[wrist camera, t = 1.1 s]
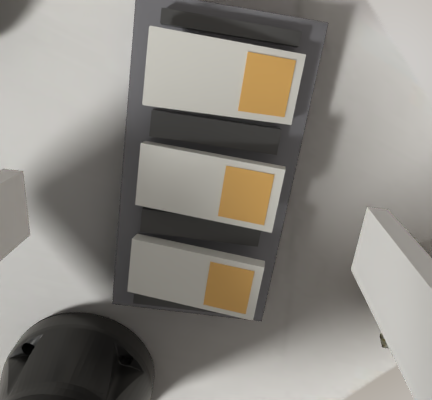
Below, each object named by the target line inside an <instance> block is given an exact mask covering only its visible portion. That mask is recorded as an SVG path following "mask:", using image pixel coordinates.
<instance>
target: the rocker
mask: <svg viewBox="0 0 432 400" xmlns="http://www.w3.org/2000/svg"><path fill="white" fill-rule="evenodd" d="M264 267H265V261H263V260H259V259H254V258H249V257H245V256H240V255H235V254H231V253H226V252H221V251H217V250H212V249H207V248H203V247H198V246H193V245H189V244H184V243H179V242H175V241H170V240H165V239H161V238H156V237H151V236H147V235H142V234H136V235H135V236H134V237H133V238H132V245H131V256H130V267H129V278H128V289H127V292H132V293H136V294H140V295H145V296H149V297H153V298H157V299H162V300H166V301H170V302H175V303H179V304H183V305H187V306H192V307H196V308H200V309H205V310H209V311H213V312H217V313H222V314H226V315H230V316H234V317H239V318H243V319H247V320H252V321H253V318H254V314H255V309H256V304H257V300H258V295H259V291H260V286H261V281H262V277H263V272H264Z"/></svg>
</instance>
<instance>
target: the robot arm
mask: <svg viewBox="0 0 432 400" xmlns="http://www.w3.org/2000/svg"><path fill="white" fill-rule="evenodd" d="M29 235H30V229H29V220H28V211H27V202H26V193H25V184H24V175H23V171H18V170H9V169H2V170H0V261H1V260H2V259H3V258H4V257H5V256H7V255H8V254H9V253H10V252H11V251H12V250H13V249H15V248H16V247H17V246H18V245H19V244H20V243H21V242H23V241H24V240H25V239H26V238H27V237H28V236H29ZM351 271H352V273H353V275H354V277H355V279H356V281H357V283H358V286H359V288H360V290H361V292H362V294H363V296H364V298H365V300H366V302H367V304H368V306H369V308H370V310H371V312H372V314H373V316H374V318H375V320H376V322H377V325H378V327H379V329H380V331H381V333H382V335H383V337H384V339H385V341H386V343H387V345H388V347H389V349H390V351H391V353H392V355H393V357H394V359H395V361H396V364H397V366H398V368H399V369H400V372H401V373H402V376H403V378H404V380H405V382H406V384H407V386H408V388H409V390H410V392H411V394H412V396H413V398H414V400H432V258H431V257H430V255H429V254H428V253H427V252H426V251H425V250H424V249H423V248H422V247H421V245H420V244H419V243H418V242H417V241H416V240H415V239H414V238H413V237H412V235H411V234H410V233H409V232H408V231H407V230H406V229H405V228H404V227H403V225H402V224H401V223H400V222H399V221H398V220H397V219H396V218H395V217H394V215H393V214H392V213H391V212H390V211H389V210H388V209H383V208H373V207H367V209H366V213H365V217H364V221H363V225H362V229H361V232H360V236H359V240H358V244H357V248H356V252H355V256H354V259H353V263H352V267H351ZM153 383H154V366H153V362H152V359H151V356H150V354H149V352H148V350H147V349H146V347H145V346H144V344H143V343H142V342H141V340H140V339H139V338H138V337H137V336H136V335H135V334H134V333H132V332H131V331H130V330H129V329H127V328H126V327H124V326H123V325H121V324H119V323H117V322H115V321H113V320H110V319H108V318H105V317H102V316H98V315H93V314H86V313H67V314H61V315H56V316H52V317H49V318H47V319H44V320H42V321H40V322H38V323H37V324H35V325H34V326H32V327H31V328H30V329H28V330H27V331H26V332H25V333H24V334H23V335H22V337H21V338H20V339H19V341H18V342H17V344H16V345H15V347H14V348H13V349H12V351H11V352H10V354H9V356H8V358H7V360H6V362H5V364H4V367H3V371H2V375H1V380H0V400H150V399H151V394H152V389H153Z"/></svg>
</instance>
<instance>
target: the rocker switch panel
mask: <svg viewBox="0 0 432 400" xmlns="http://www.w3.org/2000/svg"><path fill="white" fill-rule="evenodd" d="M149 26H155V27H160V28H166V29H171V30H177V31H182V32H187V33H193V34H198V35H203V36H209V37H214V38H220V39H225V40H230V41H236V42H241V43H246V44H252V45H257V46H263V47H268V48H273V49H279V50H284V51H290V52H295V53H300V54H306V58H305V63H304V67H303V72H302V77H301V81H300V86H299V91H298V96H297V100H296V105H295V110H294V114H293V119H292V124H291V125H287V124H280V123H272V122H265V121H257V120H250V119H242V118H235V117H227V116H220V115H212V114H205V113H197V112H190V111H182V110H175V109H167V108H160V107H152V106H145V105H143V104H142V100H143V89H144V78H145V66H146V55H147V44H148V33H149ZM327 27H328V23H327V22H321V21H315V20H310V19H304V18H298V17H292V16H287V15H281V14H275V13H269V12H264V11H258V10H252V9H246V8H241V7H235V6H229V5H223V4H217V3H212V2H206V1H200V0H136V1H135V14H134V27H133V40H132V53H131V66H130V79H129V92H128V106H127V119H126V132H125V145H124V158H123V171H122V184H121V197H120V210H119V223H118V236H117V249H116V262H115V275H114V288H113V301H112V304H118V305H126V306H135V307H143V308H152V309H161V310H169V311H178V312H186V313H195V314H204V315H212V316H221V317H229V318H238V319H243V318H239V317H234V316H230V315H226V314H222V313H217V312H213V311H209V310H205V309H200V308H196V307H192V306H187V305H183V304H179V303H175V302H170V301H166V300H162V299H157V298H153V297H149V296H145V295H140V294H136V293H132V292H127V289H128V278H129V267H130V256H131V245H132V238H133V237H134V236H135V235H136V234H142V235H147V236H151V237H156V238H161V239H165V240H170V241H175V242H179V243H184V244H189V245H193V246H198V247H203V248H207V249H212V250H217V251H221V252H226V253H231V254H235V255H240V256H245V257H249V258H254V259H259V260H263V261H265V267H264V272H263V277H262V281H261V286H260V291H259V295H258V300H257V304H256V309H255V314H254V318H253V320H255V321H262V317H263V313H264V308H265V304H266V299H267V295H268V290H269V286H270V282H271V277H272V273H273V268H274V264H275V259H276V255H277V250H278V246H279V241H280V237H281V232H282V228H283V223H284V219H285V214H286V210H287V206H288V201H289V197H290V192H291V188H292V183H293V179H294V174H295V170H296V165H297V161H298V156H299V152H300V147H301V143H302V138H303V134H304V130H305V125H306V121H307V116H308V112H309V107H310V103H311V98H312V94H313V89H314V85H315V80H316V76H317V71H318V67H319V62H320V58H321V54H322V49H323V45H324V40H325V36H326V31H327ZM144 141H150V142H156V143H161V144H166V145H172V146H177V147H183V148H188V149H194V150H199V151H204V152H210V153H215V154H221V155H226V156H231V157H237V158H242V159H248V160H253V161H259V162H264V163H269V164H275V165H280V166H285V174H284V179H283V184H282V188H281V193H280V198H279V202H278V207H277V212H276V216H275V221H274V226H273V230H272V233H270V232H265V231H260V230H256V229H251V228H246V227H241V226H236V225H231V224H226V223H221V222H217V221H212V220H207V219H202V218H197V217H192V216H187V215H183V214H178V213H173V212H168V211H163V210H158V209H153V208H148V207H144V206H139V205H135V200H136V189H137V178H138V167H139V156H140V145H141V143H142V142H144Z"/></svg>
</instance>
